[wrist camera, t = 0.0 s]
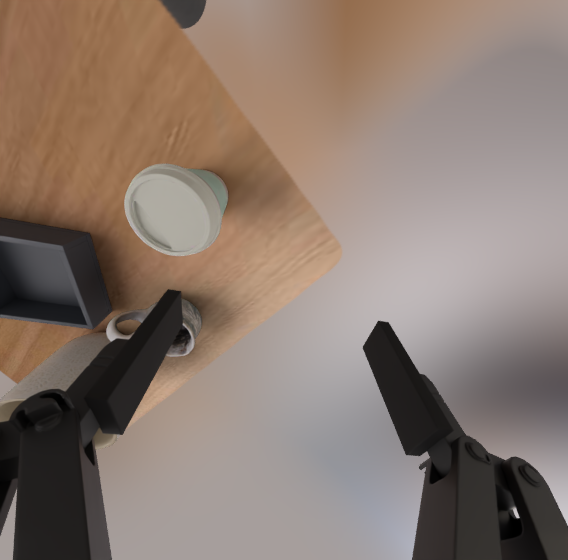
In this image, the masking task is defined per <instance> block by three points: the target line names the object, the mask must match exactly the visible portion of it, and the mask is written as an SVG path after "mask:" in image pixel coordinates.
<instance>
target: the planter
mask: <svg viewBox="0 0 568 560" xmlns="http://www.w3.org/2000/svg"><path fill="white" fill-rule="evenodd" d="M110 342H111V341H110V340H109V339H108V337H107V334H106V333H105V332H102V333H91V334H86V335H83V336H80V337H77V338H75V339H73V340H71V341H70V342H68V343H66V344H65V345H64V346H62V347H61V348H59V349H58V350H57V351H55V352H54V353H53V354H52V355H51V356H49V357H48V358H47V359H46V360H45V361H43V362H42V363H41V364H40V365H39V366H37V367H36V368H35V369H34V370H33V371H32V372H31V373H30V374H28V375H27V376H26V377H25V378H24V379H23V380H21V381H20V382H19V383H18V384H17V385H16V386H15V387H13V388H12V389H11V390H10V391H9V392H8V393H6V395H4V396H3V397H2V398H1V399H0V422H4V421H8V420H9V419H10V416H11V414H12V412H13V411H14V410H15V409H16V408H17V406H18V405H19V404H20V403H22V402H23V401H24V400H26V399H27V398H29V397H30V396H32V395H34V394H36V393H38V392H41V391H44V390H48V389H61V390H63V391H66V390H67V389H68V388H69V387H70V385H71V384H72V383H73V382H74V381H75V380H76V379H77V377H78V376H79V375H80V374H81V373H82V372H83V371H84V369H85V368H86V367H87V366H89V364H90V363H91V361H92V360H93V359H94V358H96V356H97V354H98V353H99V352H100V351H101V350H102V349H103V348H104V346H106V345H107V344H109V343H110ZM119 436H120V435H117V434H103V433H102V431H101V429H100V427H99V429H98V431H97V432H96V434H95V435H94V437H93V439H94V442H95V449H96V450H99V449H103V448H106V447H109V446H111V445H113V444H114V443H115V442H116V441H117V439H118V437H119Z"/></svg>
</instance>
